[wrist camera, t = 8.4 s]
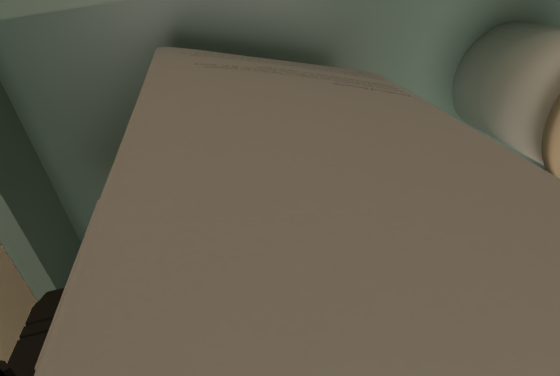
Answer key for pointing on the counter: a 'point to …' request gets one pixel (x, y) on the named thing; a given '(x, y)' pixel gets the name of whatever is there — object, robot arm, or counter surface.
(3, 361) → the robot arm
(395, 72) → the tray
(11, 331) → the counter surface
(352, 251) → the supplement box
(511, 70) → the jar
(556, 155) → the lid
